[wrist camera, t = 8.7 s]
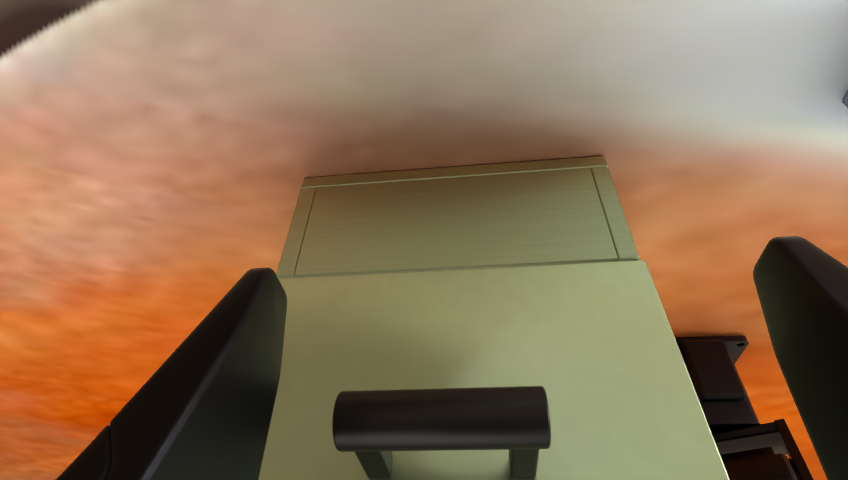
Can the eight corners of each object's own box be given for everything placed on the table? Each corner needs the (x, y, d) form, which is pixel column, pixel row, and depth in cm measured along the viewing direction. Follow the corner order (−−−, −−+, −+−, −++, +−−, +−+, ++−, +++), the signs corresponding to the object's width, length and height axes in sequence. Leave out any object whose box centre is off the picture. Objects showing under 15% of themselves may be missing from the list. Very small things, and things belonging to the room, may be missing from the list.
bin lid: (798, 700, 10) (921, 684, 7) (153, 676, 12) (32, 653, 9) (641, 273, 19) (667, 183, 16) (275, 291, 20) (235, 212, 17)
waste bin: (577, 298, 32) (597, 392, 27) (354, 308, 33) (341, 398, 29) (604, 155, 23) (640, 257, 19) (303, 177, 25) (274, 276, 21)
